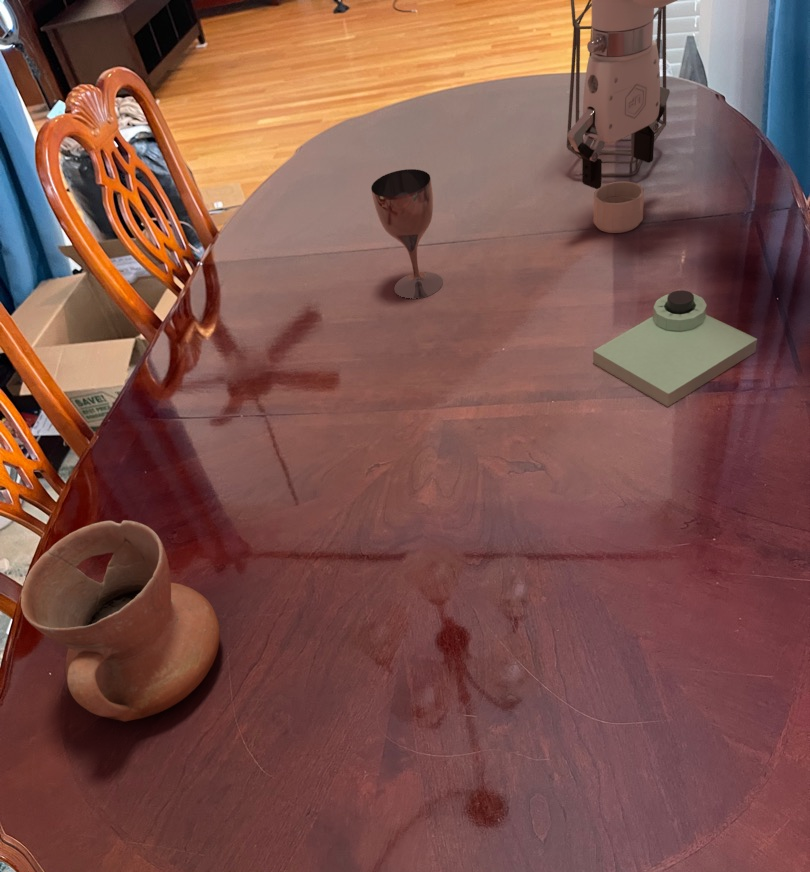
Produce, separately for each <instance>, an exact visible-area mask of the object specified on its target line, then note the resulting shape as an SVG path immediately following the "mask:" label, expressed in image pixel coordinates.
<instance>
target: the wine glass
mask: <svg viewBox="0 0 810 872" xmlns="http://www.w3.org/2000/svg"><path fill="white" fill-rule="evenodd" d="M370 189H371V196H372V201H373V205H374V209H375V211H376V214H377V217H378V219H379V221H380V224H381V226H382V228H384V231H385V232H386V233H387V234H388V235H390V236H391V237H392V238H394V239H395V240H396V241H398V242H399V243H400V244H401V245H403V246H404V247H405V249H406V251H407V253H408V256H409V259H410V262H411V266H412V273H409V274H408V275H406V276H403V277H402V278H400V279H399V280H398V281H397V282H396V283H395V285H394V290H393V291H394V293H395V295H396V296H398V295H399V296H398V297H400V296H401V297H400V298H402V297H405V298H404V299H406V298H410V299H409V300H417V299H416V298H418V299H423V298H426V297H430V296H432V295H433V294H436V293H437V292H439V290H440V289H442V286H443V285H444V280H443V278H442V276H441V275H440V274H438V273H435V272H431V271H419V263H418V247H419V243H420V241H421V239H422V237H424V235H425V233H426V231H427V230H428V228H429V227H430V224H431V223H432V219H433V213H434V193H433V184H432V178H431V175H430V174H429V173H428V172H427V171H425V170H421V169H416V168H415V169H413V168H408V169H407V168H406V169H400V170H396V171H392V172H390V173H386V174H383V175H382V176H380V177H378V178H377V179H376V180H375V181H374V182H373V183H372V185H371V188H370ZM411 298H412V299H411Z"/></svg>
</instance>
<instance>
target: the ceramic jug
mask: <svg viewBox="0 0 810 872" xmlns="http://www.w3.org/2000/svg"><path fill="white" fill-rule="evenodd" d="M105 554H106V555H107V554H112V555H111V558H110V560H109V561H108V563H107V566H106V571H105V574H104V576H103V581H102V582H99V581H97V580H95V579H93V578H91V577H89V576H88V575H86V574H85V573H84V572H83V571H81V570H80V569H78V566H79V565H80V564H81V563H82V562H84V561H85V560H87V559H90V558H92V557H96V556H101V555H105ZM171 580H172V579H171V571H170V564H169V559H168V555H167V552H166V549H165V546H164V543H163V542H162V540H161V538H160V537H159V535H158V533H156V532H155V530H153V529H152V528H151V527H149V526H147V525H146V524H143V523H141V522H138V521H133V520H127V519H124V520H122V521H121V522H119V523H118V522H115V521H113V520H104V521H99V522H95V523H91V524H89V525H85V526H83V527H80V528H78V529H76V530H74V531H72V532H70V533H69V534H67V535H65V536H64V537H63V538H61V539H59V540H58V541H57V542H56V543H54V544H53V545H52V546H51V547H50V548H49V549H48V550H47V551H45V552H44V553H43V554H42V555H41V556H40V557H39V558H38V559H37V561H36V562H35V563H34V565H32V567H31V568H30V570H29V572H28V574H27V575H26V578H25V580H24V583H23V586H22V589H21V594H20V608H21V611H22V614H23V616H24V618H25V620H26V621H27V622H28V623H29V624H30V625H31V626H32V627H34V629H36V630H37V631H39V632H40V633H41V634H42V635H44V636H45V637H47V638H48V639H50V640H52V641H53V642H56V643H57V644H59V645H61V646H62V647H63V646H64V647H66V648H68V649H67V653H66V658H65V664H64V665H65V667H64V669H65V678H66V683H67V687H68V690H69V693H70V694H71V696H72V698H73V699H74V701H75V702H76V703H77V704H79V706H81V707H82V708H83V709H85V710H87V711H88V712H90V713H91V714H94V715H96V716H99V717H103V718H106V719H111V720H115V721H116V720H117V721H120V722H130V721H134V720H141V719H144V718H147V717H150V716H154V715H157V714H160V713H161V712H164V711H166V710H168V709H170V708H172V707H173V706H175V705H177V704H178V703H180V702H181V701H183V700H184V699H185V698H187V697H188V696H189V695H191V693H193V691H195V689H197V687H199V685H200V684H201V683H202V682H203V680H205V678H206V676H207V675H208V673H209V671H210V670H211V668H212V667H213V665H214V662H215V660H216V657H217V654H218V651H219V646H220V639H221V630H220V623H219V619H218V616H217V614H216V611H215V609H214V607H213V605H212V604H211V603H210V602H209V600H208V599H207V598H206V597H204V596H203V595H202V594H201V593H200V592H198V591H196V590H195V589H193V588H191V587H189V586H186V585H184V584H181V583H177V582H172V581H171Z"/></svg>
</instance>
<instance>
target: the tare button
mask: <svg viewBox="0 0 810 872" xmlns="http://www.w3.org/2000/svg"><path fill="white" fill-rule="evenodd" d="M668 294H669V295H668V298H667V311H668V312H670V313H672V314H686V313H689V312H691V311H692V309H693V302H694V295H693V294H694V293H693V294H692V292H691V291H688V290H683V289H682V290H674V291H672V292H670V293H668Z"/></svg>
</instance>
